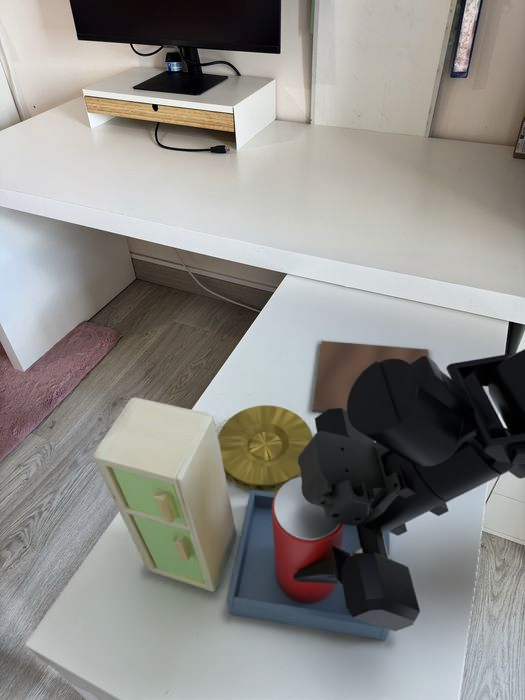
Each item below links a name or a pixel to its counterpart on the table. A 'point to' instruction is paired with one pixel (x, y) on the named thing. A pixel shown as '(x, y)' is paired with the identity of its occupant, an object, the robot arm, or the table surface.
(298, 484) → the can
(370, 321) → the table surface
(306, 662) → the table surface
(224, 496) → the toy refrigerator
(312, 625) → the tray
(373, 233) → the table surface
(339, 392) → the walnut board
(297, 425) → the gold round disc
